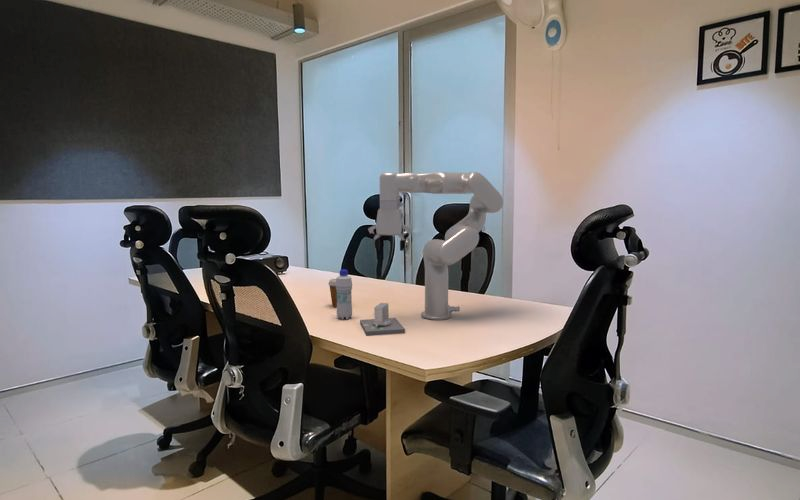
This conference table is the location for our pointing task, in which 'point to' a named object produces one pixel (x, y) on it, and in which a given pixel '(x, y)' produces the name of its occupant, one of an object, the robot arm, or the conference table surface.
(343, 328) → the conference table surface
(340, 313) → the bottle
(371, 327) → the dial board
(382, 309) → the knob
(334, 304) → the disposable coffee cup
